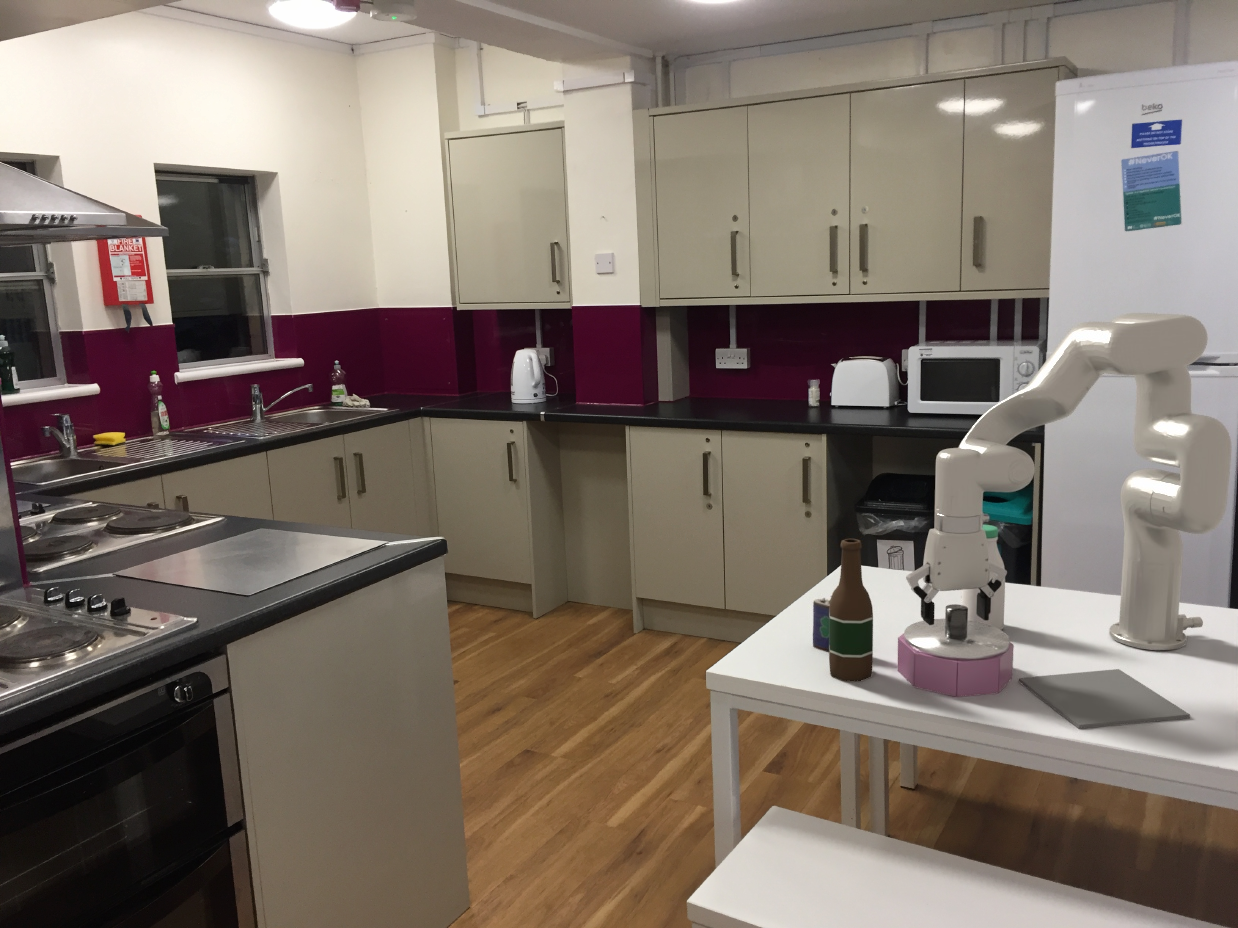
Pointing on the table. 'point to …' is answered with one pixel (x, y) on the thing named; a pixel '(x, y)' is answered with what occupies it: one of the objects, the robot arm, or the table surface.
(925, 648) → the lid
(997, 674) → the pink octagonal dish
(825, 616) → the flask
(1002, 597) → the milk bottle
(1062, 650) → the table surface
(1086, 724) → the mat
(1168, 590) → the robot arm
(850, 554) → the beer bottle
